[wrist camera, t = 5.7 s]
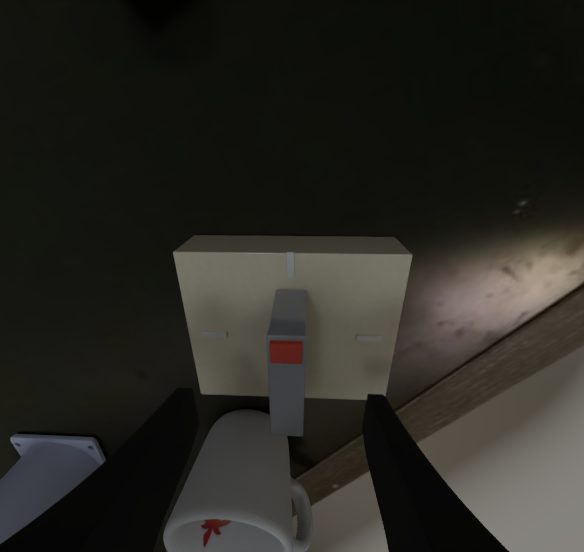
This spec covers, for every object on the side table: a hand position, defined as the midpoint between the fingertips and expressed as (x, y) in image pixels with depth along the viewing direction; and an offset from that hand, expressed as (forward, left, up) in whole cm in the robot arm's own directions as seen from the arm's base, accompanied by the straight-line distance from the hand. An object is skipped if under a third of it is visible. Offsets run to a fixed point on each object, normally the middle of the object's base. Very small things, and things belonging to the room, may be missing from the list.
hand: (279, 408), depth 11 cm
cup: (-13, +2, -8) cm, 16 cm away
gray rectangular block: (0, 0, -5) cm, 5 cm away
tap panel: (0, 0, -8) cm, 8 cm away
